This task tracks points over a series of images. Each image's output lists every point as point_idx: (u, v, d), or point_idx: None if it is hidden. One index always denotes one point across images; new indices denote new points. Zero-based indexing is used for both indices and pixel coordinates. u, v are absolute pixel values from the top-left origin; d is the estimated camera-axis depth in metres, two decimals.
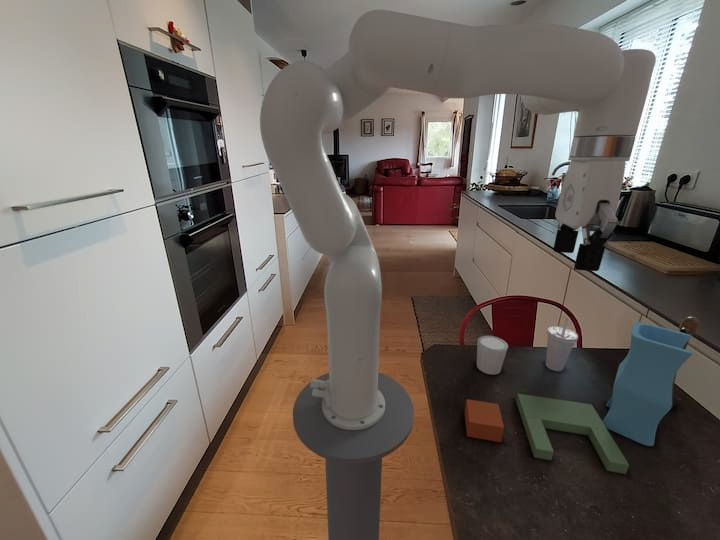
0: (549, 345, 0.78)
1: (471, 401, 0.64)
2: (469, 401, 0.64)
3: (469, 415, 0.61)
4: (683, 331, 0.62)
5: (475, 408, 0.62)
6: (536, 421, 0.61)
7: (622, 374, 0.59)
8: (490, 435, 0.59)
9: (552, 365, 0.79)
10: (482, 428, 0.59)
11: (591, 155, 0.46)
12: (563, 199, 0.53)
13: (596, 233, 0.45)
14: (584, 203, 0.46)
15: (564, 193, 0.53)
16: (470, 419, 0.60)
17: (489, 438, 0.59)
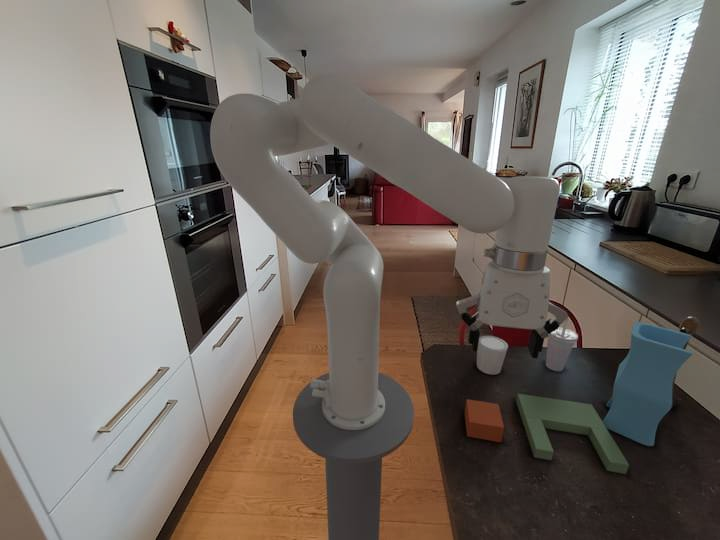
0: (549, 345, 0.78)
1: (471, 401, 0.64)
2: (469, 401, 0.64)
3: (469, 415, 0.61)
4: (683, 331, 0.62)
5: (475, 408, 0.62)
6: (536, 421, 0.61)
7: (622, 374, 0.59)
8: (490, 435, 0.59)
9: (552, 365, 0.79)
10: (482, 428, 0.59)
11: (542, 267, 0.49)
12: (502, 306, 0.52)
13: (557, 326, 0.52)
14: (548, 307, 0.51)
15: (502, 301, 0.51)
16: (470, 419, 0.60)
17: (489, 438, 0.59)
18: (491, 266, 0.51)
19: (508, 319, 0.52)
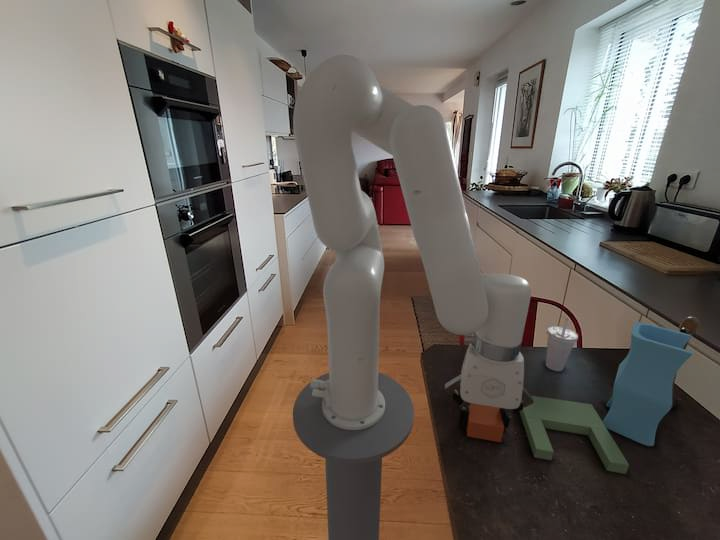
0: (549, 345, 0.78)
1: None
2: None
3: (469, 415, 0.61)
4: (683, 331, 0.62)
5: (475, 408, 0.62)
6: (536, 421, 0.61)
7: (622, 374, 0.59)
8: (490, 435, 0.59)
9: (552, 365, 0.79)
10: (482, 428, 0.59)
11: (517, 357, 0.54)
12: (480, 388, 0.57)
13: (521, 408, 0.58)
14: (522, 391, 0.56)
15: (480, 384, 0.56)
16: (470, 419, 0.60)
17: (489, 438, 0.59)
18: (471, 352, 0.56)
19: (486, 399, 0.57)
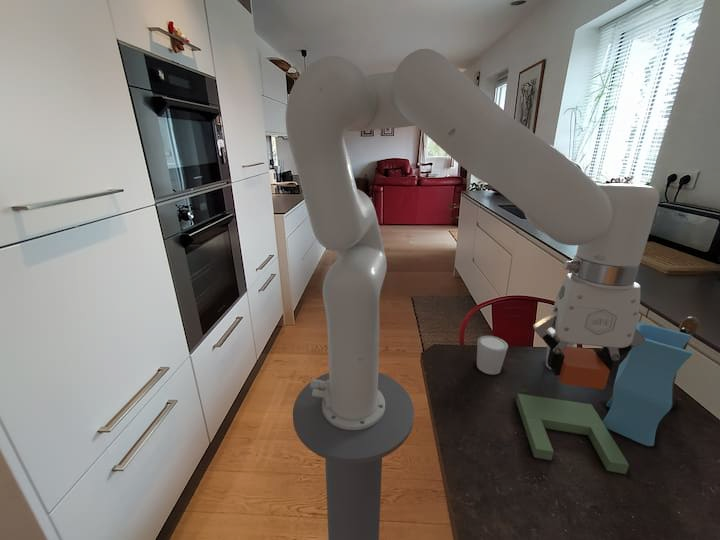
0: None
1: None
2: None
3: (564, 359, 0.52)
4: (683, 331, 0.62)
5: (568, 353, 0.54)
6: (536, 421, 0.61)
7: (622, 374, 0.59)
8: (591, 381, 0.50)
9: None
10: (582, 373, 0.50)
11: (634, 282, 0.45)
12: (585, 323, 0.48)
13: (629, 348, 0.49)
14: None
15: (585, 317, 0.48)
16: (567, 363, 0.51)
17: (590, 385, 0.51)
18: (573, 280, 0.48)
19: (591, 337, 0.48)
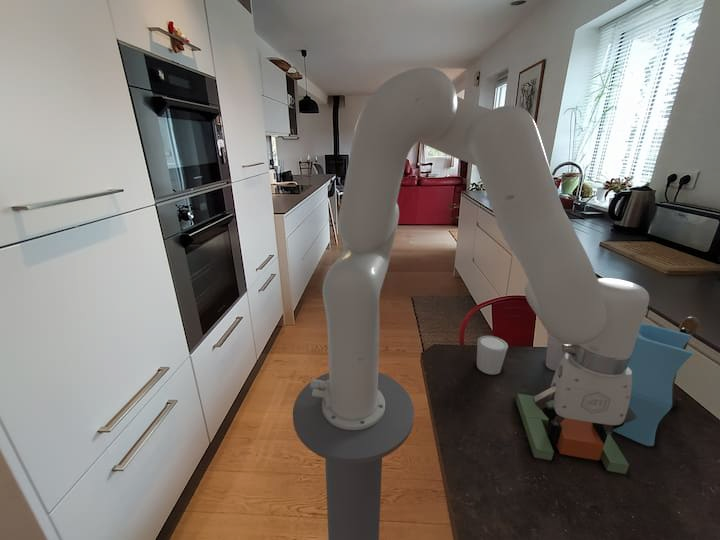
0: (549, 345, 0.78)
1: None
2: None
3: (561, 431, 0.56)
4: (683, 331, 0.62)
5: (565, 423, 0.58)
6: (536, 421, 0.61)
7: None
8: (587, 453, 0.55)
9: (552, 365, 0.79)
10: (578, 445, 0.54)
11: (626, 369, 0.49)
12: (581, 403, 0.52)
13: (622, 424, 0.54)
14: (628, 406, 0.51)
15: (581, 398, 0.52)
16: (564, 435, 0.55)
17: (585, 456, 0.55)
18: (571, 364, 0.52)
19: (586, 415, 0.52)
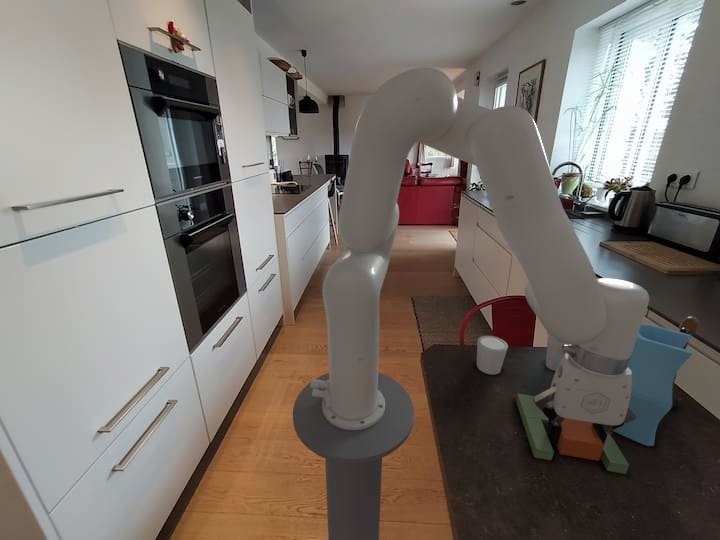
0: (549, 345, 0.78)
1: None
2: None
3: None
4: (683, 331, 0.62)
5: (565, 423, 0.58)
6: (536, 421, 0.61)
7: None
8: (587, 453, 0.55)
9: (552, 365, 0.79)
10: (578, 445, 0.54)
11: (626, 369, 0.49)
12: (581, 403, 0.52)
13: (622, 424, 0.54)
14: None
15: (581, 398, 0.52)
16: (564, 435, 0.55)
17: (585, 456, 0.55)
18: (571, 364, 0.52)
19: (586, 415, 0.52)
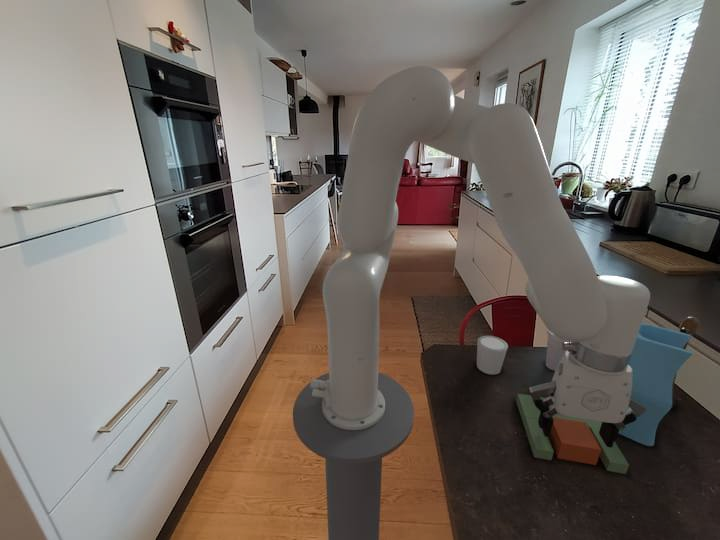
0: (549, 345, 0.78)
1: (556, 419, 0.60)
2: (554, 419, 0.60)
3: (559, 435, 0.56)
4: (683, 331, 0.62)
5: (563, 427, 0.58)
6: (536, 421, 0.61)
7: None
8: (584, 457, 0.55)
9: (552, 365, 0.79)
10: (576, 450, 0.55)
11: (626, 367, 0.49)
12: (581, 401, 0.52)
13: (634, 419, 0.53)
14: (628, 404, 0.51)
15: (581, 396, 0.52)
16: (562, 440, 0.55)
17: (583, 460, 0.55)
18: (571, 361, 0.52)
19: (587, 412, 0.52)
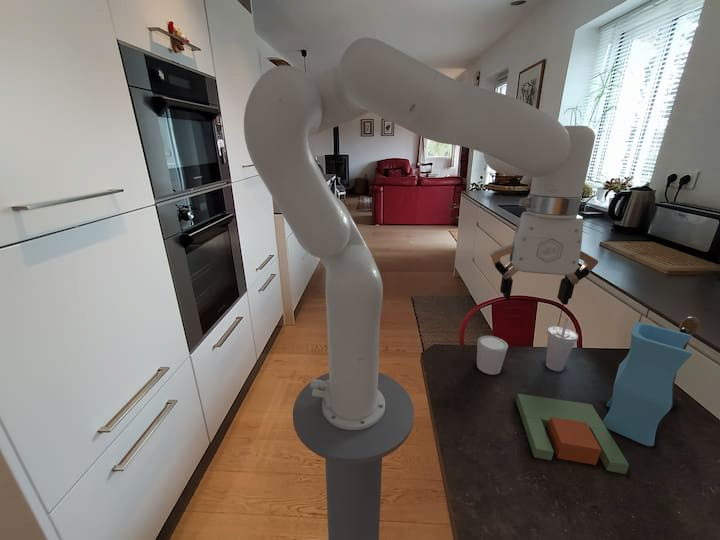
0: (549, 345, 0.78)
1: (556, 419, 0.60)
2: (554, 419, 0.60)
3: (559, 435, 0.56)
4: (683, 331, 0.62)
5: (563, 427, 0.58)
6: (536, 421, 0.61)
7: (622, 374, 0.59)
8: (584, 457, 0.55)
9: (552, 365, 0.79)
10: (576, 450, 0.55)
11: (576, 213, 0.52)
12: (536, 252, 0.55)
13: (587, 272, 0.56)
14: (580, 253, 0.54)
15: (536, 247, 0.54)
16: (562, 440, 0.55)
17: (583, 460, 0.55)
18: (526, 214, 0.55)
19: (542, 265, 0.55)
